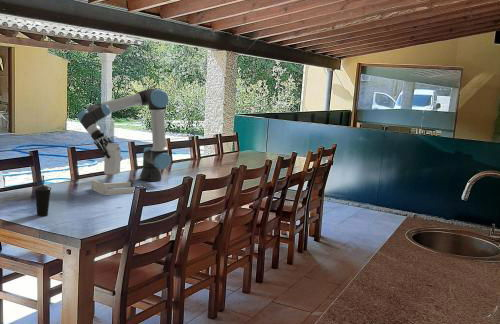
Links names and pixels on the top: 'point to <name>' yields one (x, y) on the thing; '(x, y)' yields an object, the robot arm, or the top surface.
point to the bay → (103, 187)
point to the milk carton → (116, 154)
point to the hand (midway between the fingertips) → (117, 161)
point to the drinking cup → (42, 199)
